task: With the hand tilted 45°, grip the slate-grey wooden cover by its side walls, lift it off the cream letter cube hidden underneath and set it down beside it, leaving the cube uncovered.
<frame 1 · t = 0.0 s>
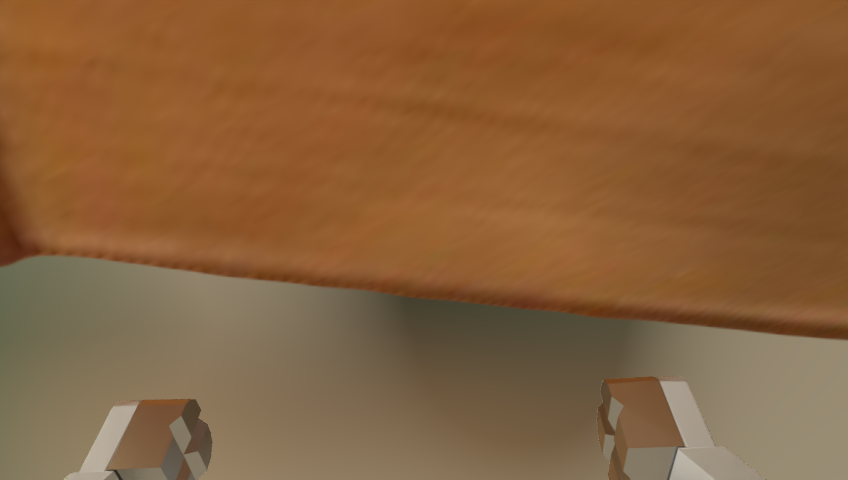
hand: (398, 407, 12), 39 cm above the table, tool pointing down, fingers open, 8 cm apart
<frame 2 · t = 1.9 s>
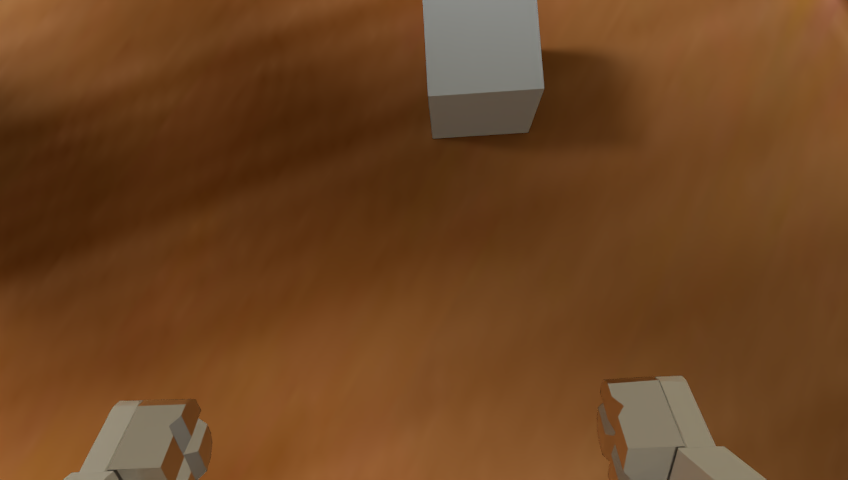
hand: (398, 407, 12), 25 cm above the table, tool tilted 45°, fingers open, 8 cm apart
slate cover: (477, 93, 39), on the table
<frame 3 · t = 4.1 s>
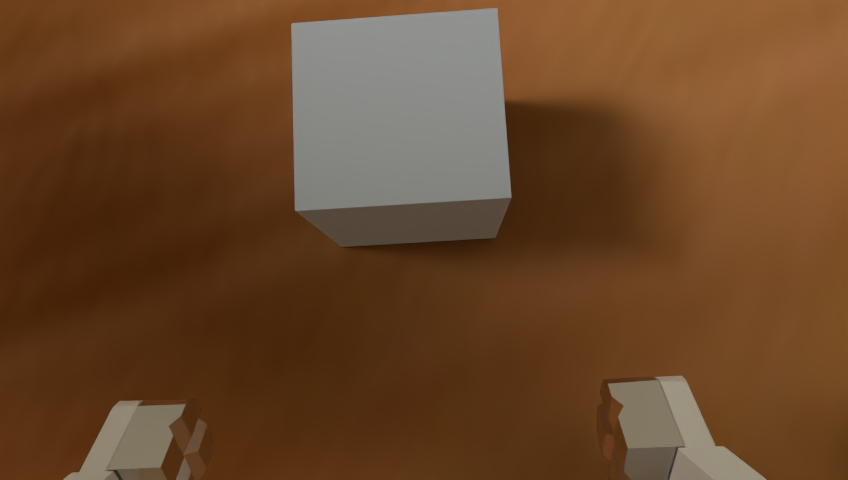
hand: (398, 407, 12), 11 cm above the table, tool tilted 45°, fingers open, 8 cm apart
slate cover: (414, 172, 24), on the table
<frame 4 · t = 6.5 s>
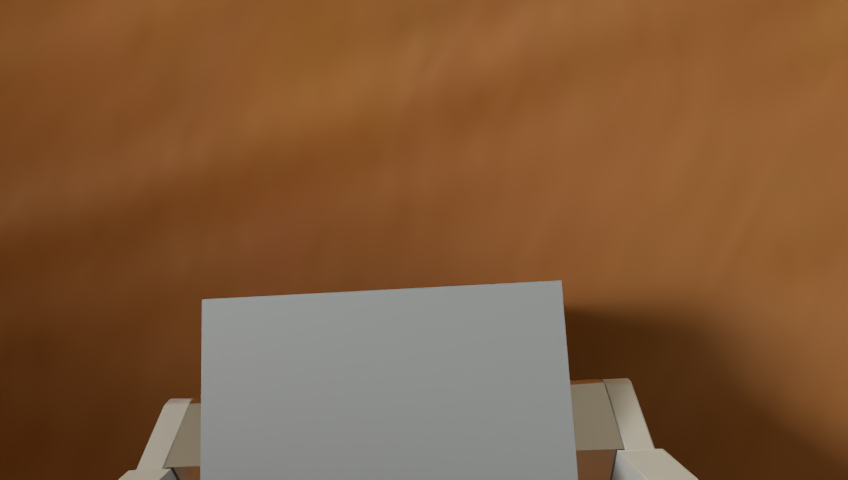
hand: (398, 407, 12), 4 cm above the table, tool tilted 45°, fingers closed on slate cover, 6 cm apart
slate cover: (415, 413, 17), on the table, touching gripper
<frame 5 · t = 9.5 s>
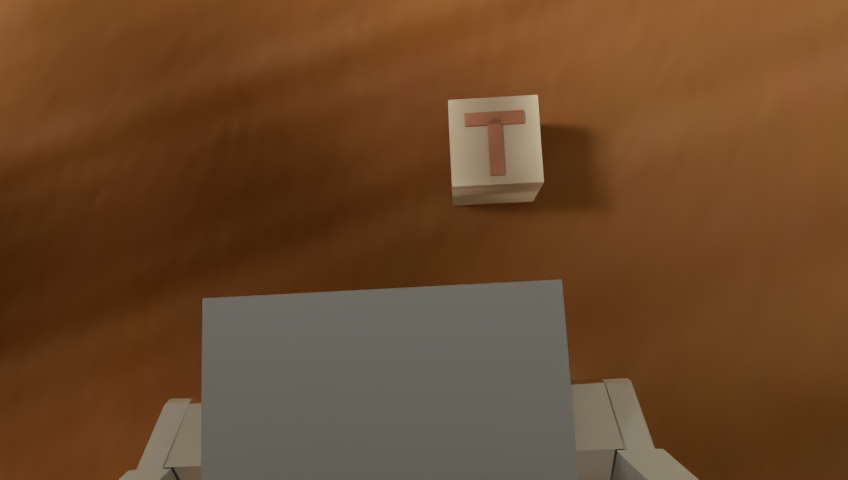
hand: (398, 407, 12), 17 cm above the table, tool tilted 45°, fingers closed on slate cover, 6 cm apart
letter cube: (492, 152, 29), on the table
slate cover: (415, 412, 17), point 13 cm above the table, touching gripper
when the fingers open (6 cm above the table, at t = 12.9 s): slate cover drops 1 cm, on the table.
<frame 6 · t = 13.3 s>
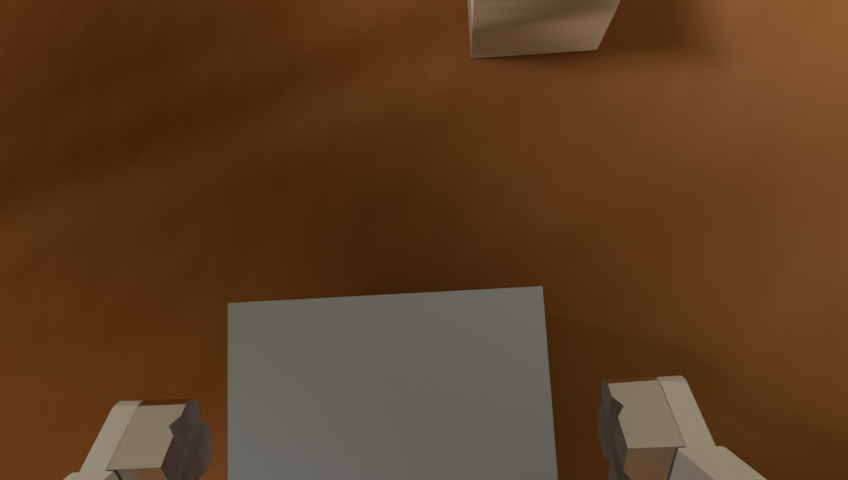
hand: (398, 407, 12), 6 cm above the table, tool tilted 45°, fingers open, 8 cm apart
slate cover: (415, 406, 18), on the table
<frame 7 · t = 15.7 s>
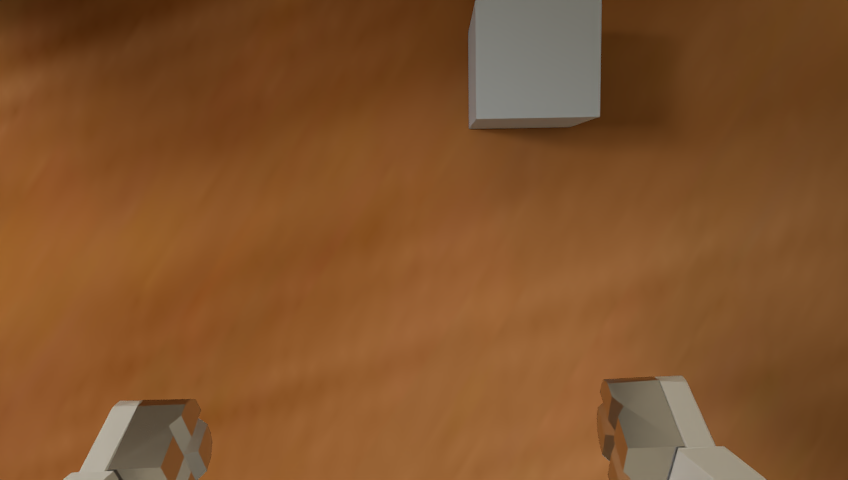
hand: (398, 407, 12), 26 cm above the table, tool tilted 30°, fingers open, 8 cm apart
slate cover: (519, 80, 37), on the table
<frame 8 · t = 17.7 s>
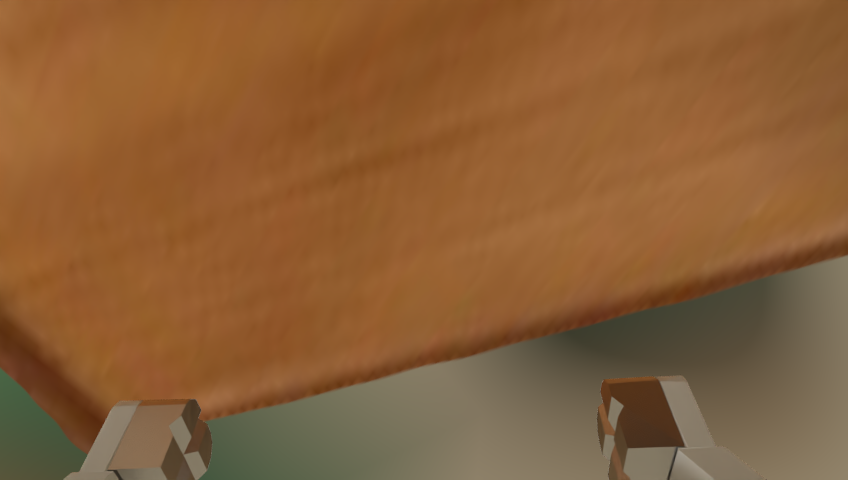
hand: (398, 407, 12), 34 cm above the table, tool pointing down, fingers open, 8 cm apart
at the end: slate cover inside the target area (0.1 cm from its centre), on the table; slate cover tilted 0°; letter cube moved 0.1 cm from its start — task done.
